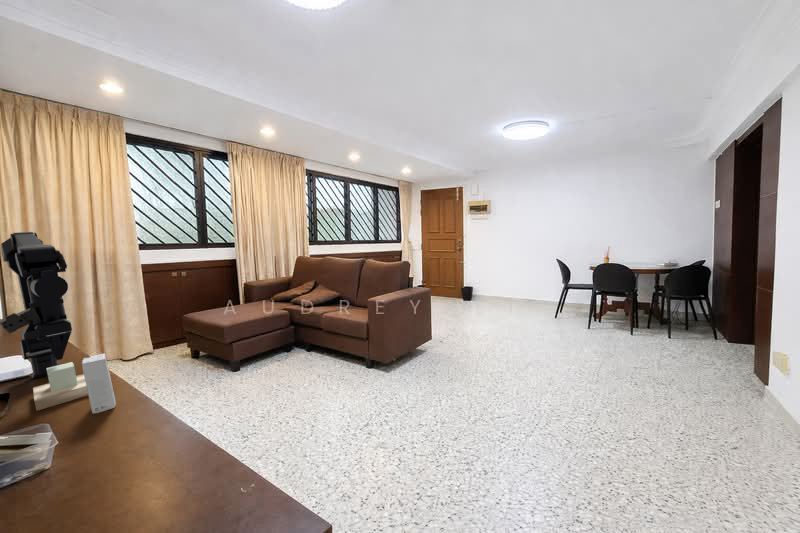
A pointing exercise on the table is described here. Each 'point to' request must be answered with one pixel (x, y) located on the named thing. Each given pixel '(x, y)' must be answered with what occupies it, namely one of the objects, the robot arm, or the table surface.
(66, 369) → the sage cube
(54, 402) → the maple plinth
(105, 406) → the skincare box
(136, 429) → the table surface
